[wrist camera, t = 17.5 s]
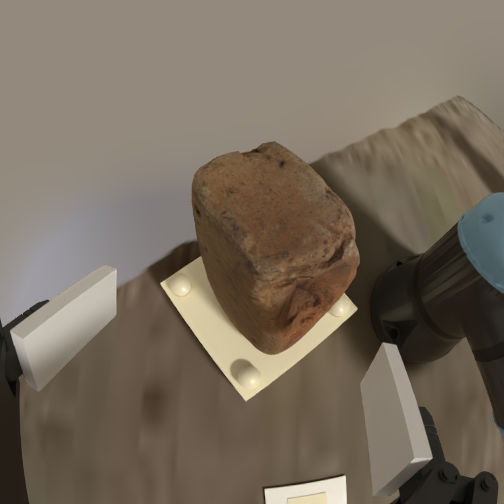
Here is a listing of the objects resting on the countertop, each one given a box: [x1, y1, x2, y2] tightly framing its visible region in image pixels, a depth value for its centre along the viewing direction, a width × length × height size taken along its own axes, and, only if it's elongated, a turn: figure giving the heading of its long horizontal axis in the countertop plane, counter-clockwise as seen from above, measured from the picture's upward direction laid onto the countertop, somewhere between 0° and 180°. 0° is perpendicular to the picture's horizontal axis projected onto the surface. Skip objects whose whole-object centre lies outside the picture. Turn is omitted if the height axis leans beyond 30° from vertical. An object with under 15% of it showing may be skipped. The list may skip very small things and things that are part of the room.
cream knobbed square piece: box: [160, 256, 358, 401], centre depth 35 cm, size 16×16×6 cm
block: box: [192, 142, 360, 355], centre depth 24 cm, size 11×8×20 cm
